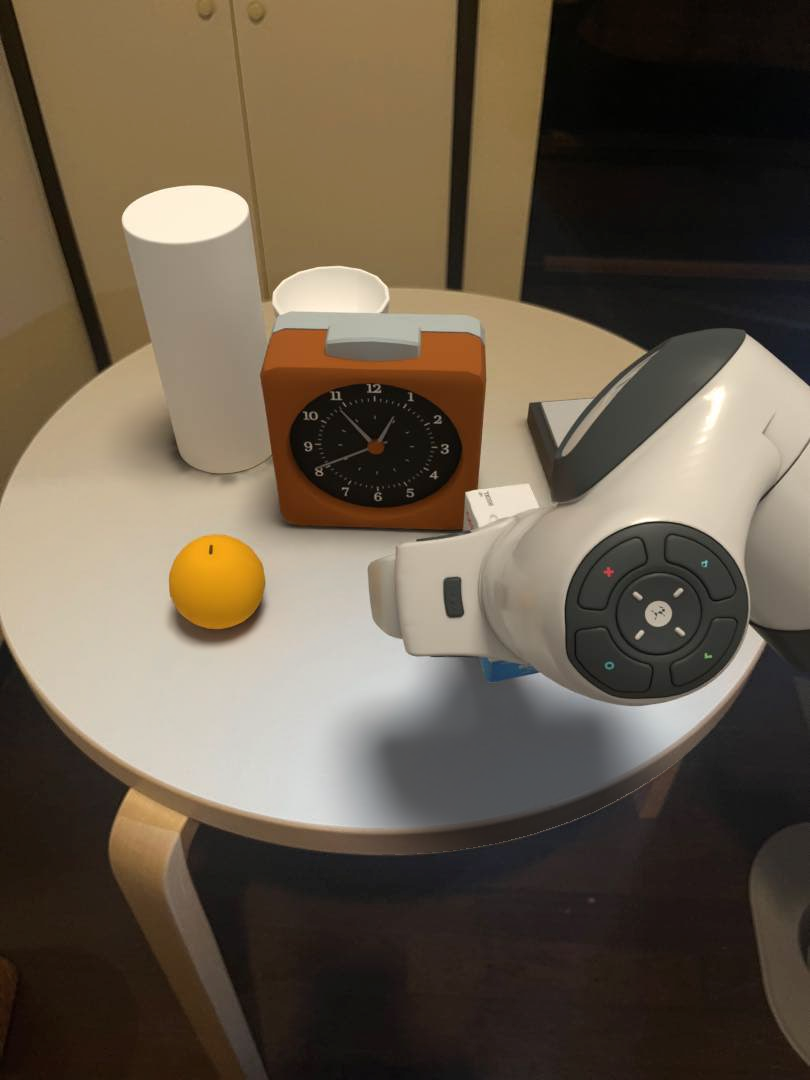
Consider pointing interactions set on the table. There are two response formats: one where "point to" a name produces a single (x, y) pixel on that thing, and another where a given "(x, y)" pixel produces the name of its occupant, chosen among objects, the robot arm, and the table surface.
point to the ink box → (483, 511)
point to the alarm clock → (375, 417)
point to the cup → (331, 292)
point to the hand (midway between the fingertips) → (505, 572)
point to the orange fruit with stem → (216, 581)
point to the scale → (553, 426)
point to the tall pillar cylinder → (203, 320)
